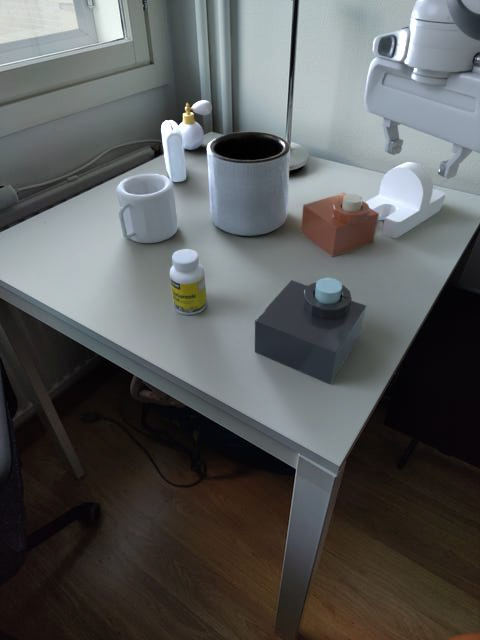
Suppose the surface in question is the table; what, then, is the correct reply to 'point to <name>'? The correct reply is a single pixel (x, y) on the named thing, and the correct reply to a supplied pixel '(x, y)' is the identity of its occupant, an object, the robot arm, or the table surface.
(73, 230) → the table surface
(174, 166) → the white rounded-top slab
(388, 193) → the tape dispenser
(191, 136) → the perfume bottle
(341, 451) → the table surface
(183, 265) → the supplement bottle
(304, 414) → the table surface
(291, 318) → the grey push button box
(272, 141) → the planter
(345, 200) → the round white push button
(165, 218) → the mug
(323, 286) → the light blue push button
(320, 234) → the orange push button block
